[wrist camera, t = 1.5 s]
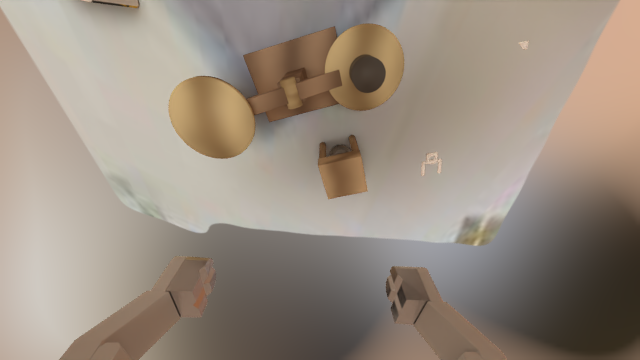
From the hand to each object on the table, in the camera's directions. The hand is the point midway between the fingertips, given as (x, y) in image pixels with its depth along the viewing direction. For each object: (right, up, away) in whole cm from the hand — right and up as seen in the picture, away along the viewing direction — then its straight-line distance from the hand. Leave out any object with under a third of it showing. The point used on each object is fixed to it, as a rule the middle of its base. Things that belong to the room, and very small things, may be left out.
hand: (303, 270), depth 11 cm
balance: (-2, +18, +21) cm, 28 cm away
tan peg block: (+4, +8, +27) cm, 29 cm away
